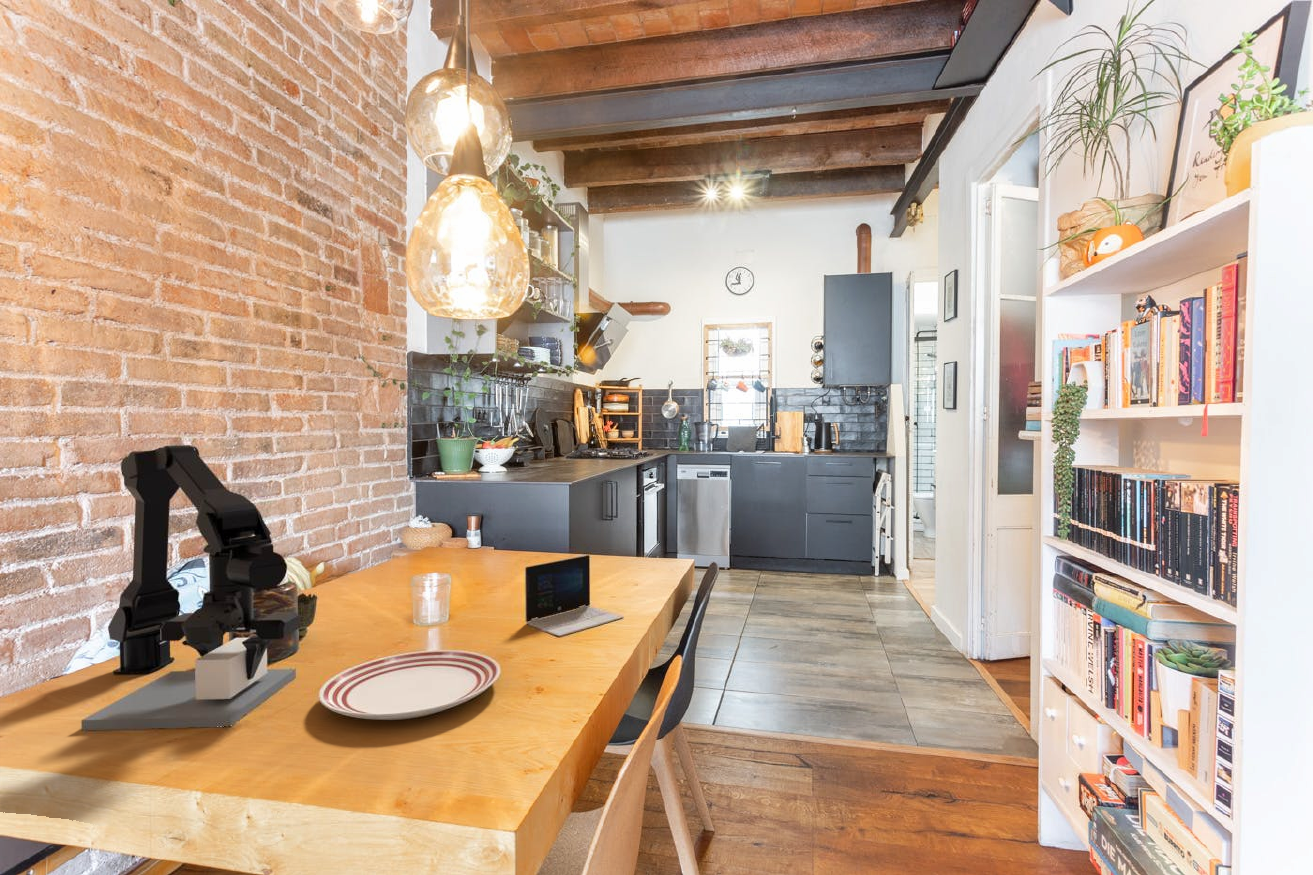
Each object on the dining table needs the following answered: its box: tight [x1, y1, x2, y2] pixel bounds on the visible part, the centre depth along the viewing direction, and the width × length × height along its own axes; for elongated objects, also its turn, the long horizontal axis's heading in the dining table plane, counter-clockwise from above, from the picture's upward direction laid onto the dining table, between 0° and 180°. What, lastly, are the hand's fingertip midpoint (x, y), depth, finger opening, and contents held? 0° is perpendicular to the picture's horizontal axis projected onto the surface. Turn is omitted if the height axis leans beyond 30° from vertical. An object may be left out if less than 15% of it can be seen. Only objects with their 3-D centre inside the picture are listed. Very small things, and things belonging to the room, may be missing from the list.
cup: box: [298, 592, 318, 638], centre depth 132 cm, size 8×7×8 cm
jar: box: [228, 572, 300, 664], centre depth 122 cm, size 12×12×15 cm
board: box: [80, 668, 297, 731], centre depth 101 cm, size 21×18×2 cm
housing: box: [194, 638, 268, 699], centre depth 101 cm, size 5×10×6 cm, turn 2°
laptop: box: [524, 554, 624, 637], centre depth 141 cm, size 18×12×13 cm
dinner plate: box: [318, 649, 501, 721], centre depth 103 cm, size 27×27×3 cm
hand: (233, 679), depth 101 cm, fingers closed on housing, 5 cm apart
